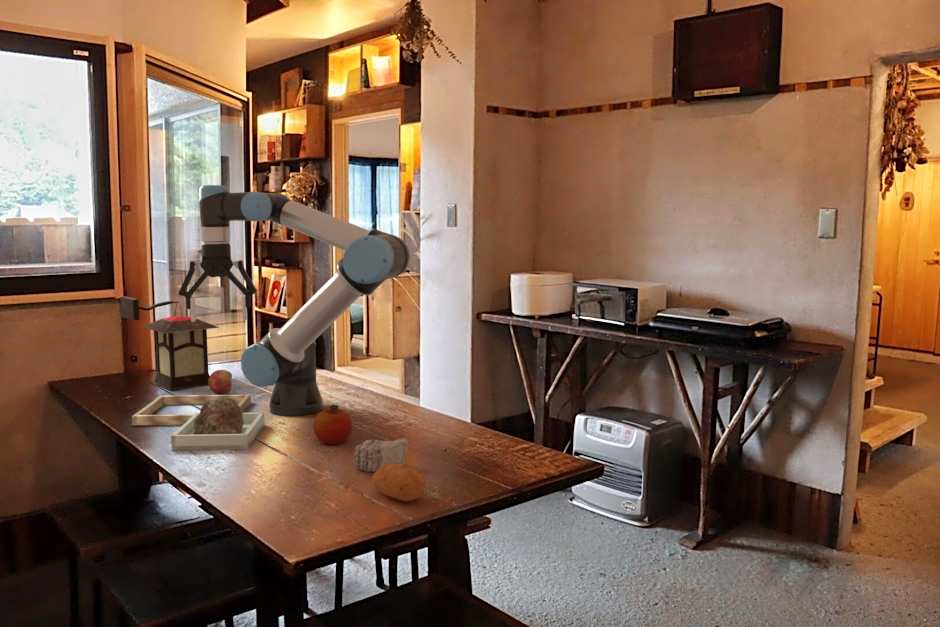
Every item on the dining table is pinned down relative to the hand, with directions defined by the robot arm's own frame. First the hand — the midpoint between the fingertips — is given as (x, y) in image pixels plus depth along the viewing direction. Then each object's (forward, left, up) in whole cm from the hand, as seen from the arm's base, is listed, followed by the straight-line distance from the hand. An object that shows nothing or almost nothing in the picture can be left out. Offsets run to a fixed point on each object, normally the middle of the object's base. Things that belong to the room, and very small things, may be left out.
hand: (219, 320), depth 216 cm
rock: (-4, +20, -26) cm, 33 cm away
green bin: (-4, +20, -27) cm, 34 cm away
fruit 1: (+7, -26, -27) cm, 38 cm away
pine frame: (+9, -4, -27) cm, 29 cm away
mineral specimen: (-46, +46, -28) cm, 70 cm away
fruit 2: (-33, +26, -27) cm, 50 cm away
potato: (-50, +65, -27) cm, 87 cm away
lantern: (+26, -39, -27) cm, 54 cm away
